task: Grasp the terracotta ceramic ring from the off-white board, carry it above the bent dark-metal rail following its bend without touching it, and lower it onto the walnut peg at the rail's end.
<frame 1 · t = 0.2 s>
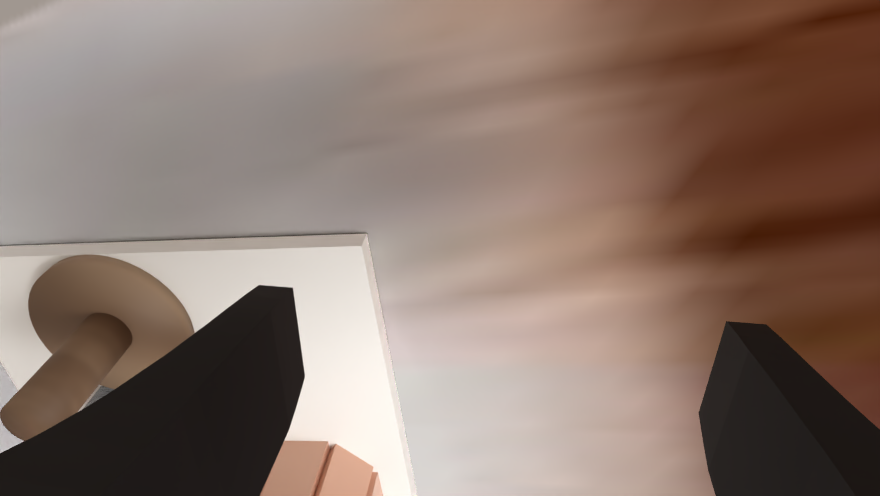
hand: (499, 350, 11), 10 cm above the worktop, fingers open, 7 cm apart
board: (210, 395, 27), on the worktop
peg: (117, 322, 24), resting on board
ring: (319, 485, 28), point 1 cm above the worktop, touching board
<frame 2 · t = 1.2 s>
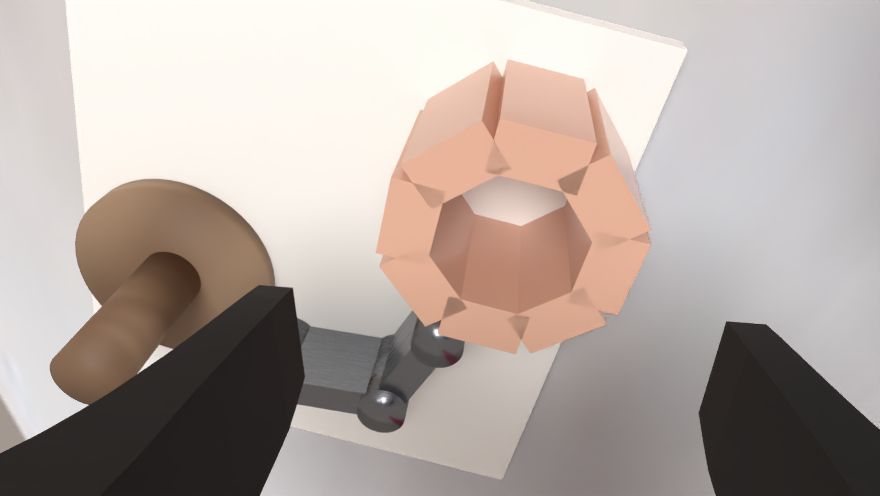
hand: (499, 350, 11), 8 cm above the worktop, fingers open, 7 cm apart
board: (336, 236, 20), on the worktop
peg: (181, 265, 20), resting on board
ring: (514, 169, 17), point 1 cm above the worktop, touching board
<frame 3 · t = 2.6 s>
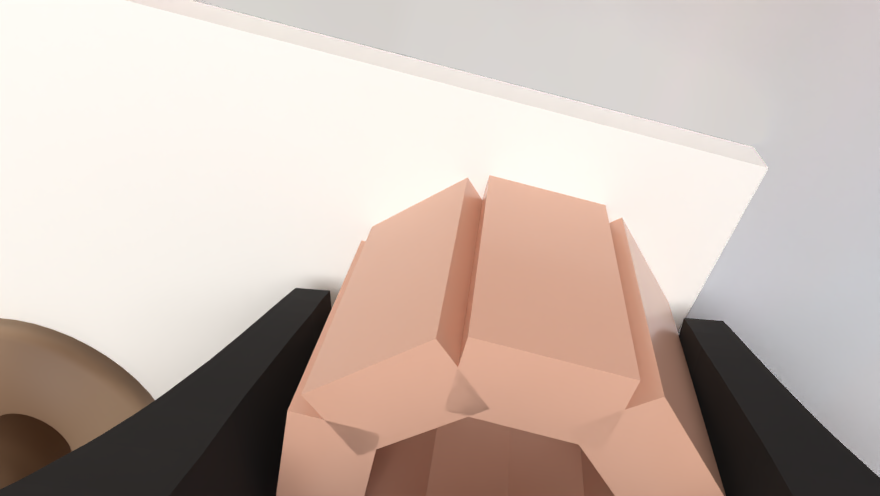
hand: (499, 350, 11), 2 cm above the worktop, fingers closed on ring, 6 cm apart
board: (259, 384, 15), on the worktop
peg: (48, 422, 15), resting on board
ring: (501, 321, 12), point 1 cm above the worktop, touching board, gripper
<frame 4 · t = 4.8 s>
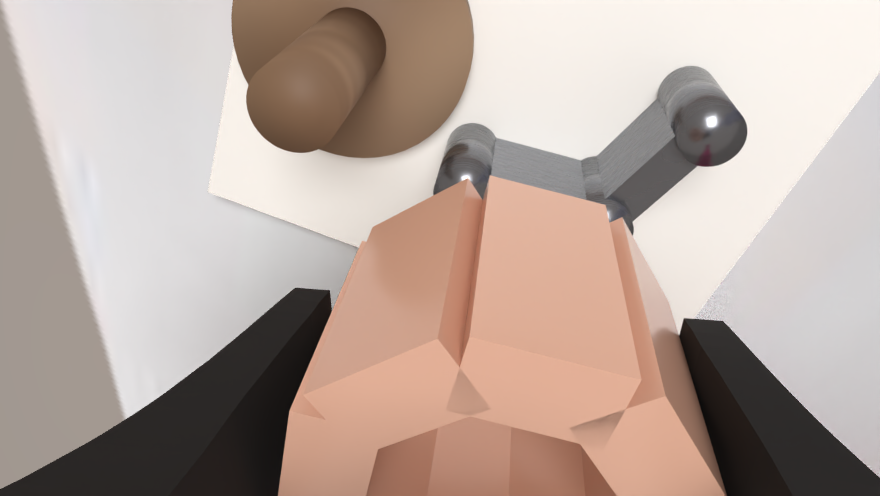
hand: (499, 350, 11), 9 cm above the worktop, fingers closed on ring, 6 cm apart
board: (552, 22, 16), on the worktop
peg: (355, 39, 17), resting on board
ring: (501, 321, 12), point 8 cm above the worktop, touching gripper
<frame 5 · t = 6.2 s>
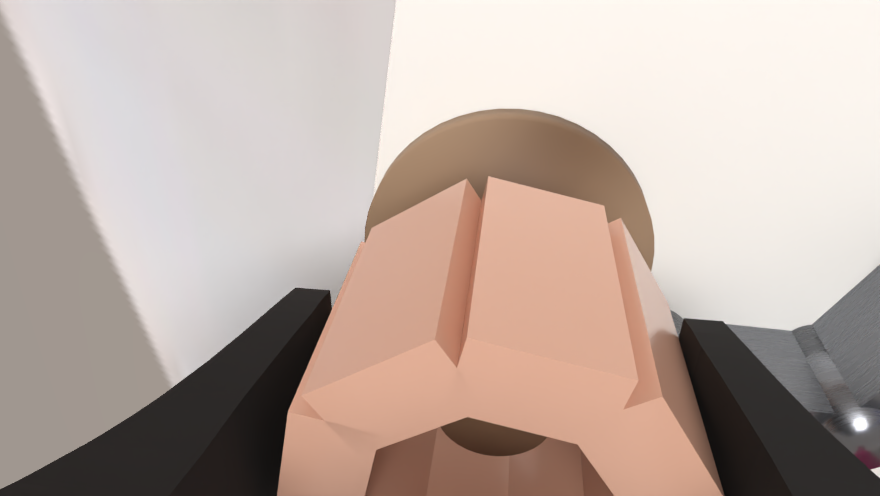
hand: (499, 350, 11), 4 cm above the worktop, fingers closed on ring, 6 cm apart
board: (738, 184, 14), on the worktop
peg: (506, 241, 14), resting on board
ring: (500, 321, 12), point 4 cm above the worktop, touching gripper
when the fingers open (4 cm above the worktop, at t = 7.1 s): ring drops 2 cm, resting on peg.
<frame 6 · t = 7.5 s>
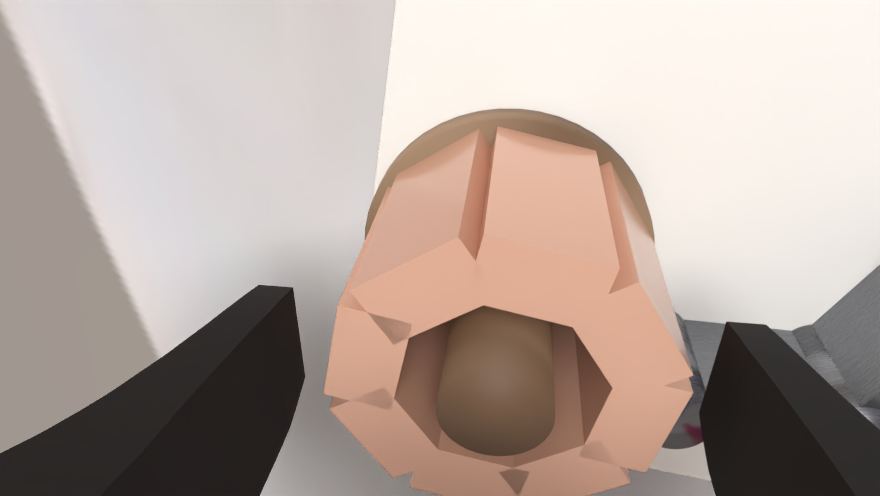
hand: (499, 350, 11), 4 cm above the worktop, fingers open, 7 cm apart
board: (738, 184, 14), on the worktop
peg: (506, 241, 14), resting on board
ring: (508, 257, 14), point 1 cm above the worktop, touching peg
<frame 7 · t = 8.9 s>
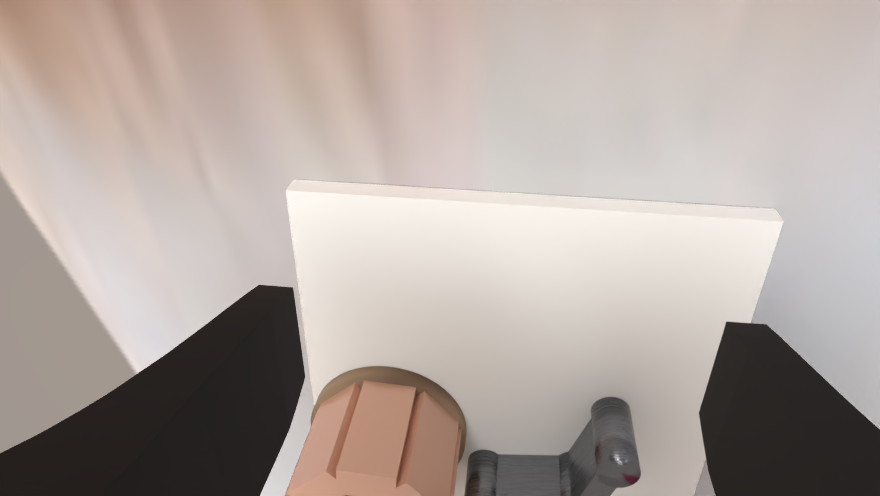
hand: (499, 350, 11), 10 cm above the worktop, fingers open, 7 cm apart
board: (509, 382, 25), on the worktop
peg: (390, 424, 26), resting on board
ring: (388, 436, 25), point 1 cm above the worktop, touching peg
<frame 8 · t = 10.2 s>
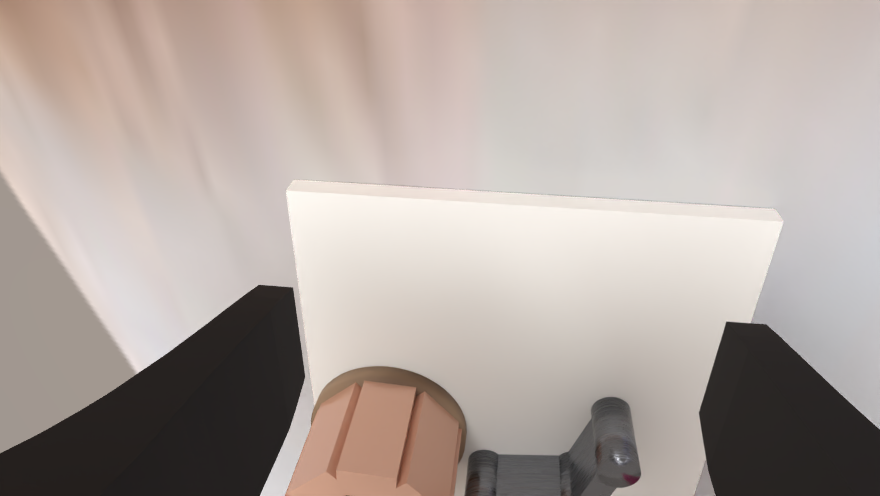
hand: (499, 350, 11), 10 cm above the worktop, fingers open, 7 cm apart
board: (509, 382, 25), on the worktop
peg: (390, 424, 26), resting on board
ring: (388, 436, 25), point 1 cm above the worktop, touching peg
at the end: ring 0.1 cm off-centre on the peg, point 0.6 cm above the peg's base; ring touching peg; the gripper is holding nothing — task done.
